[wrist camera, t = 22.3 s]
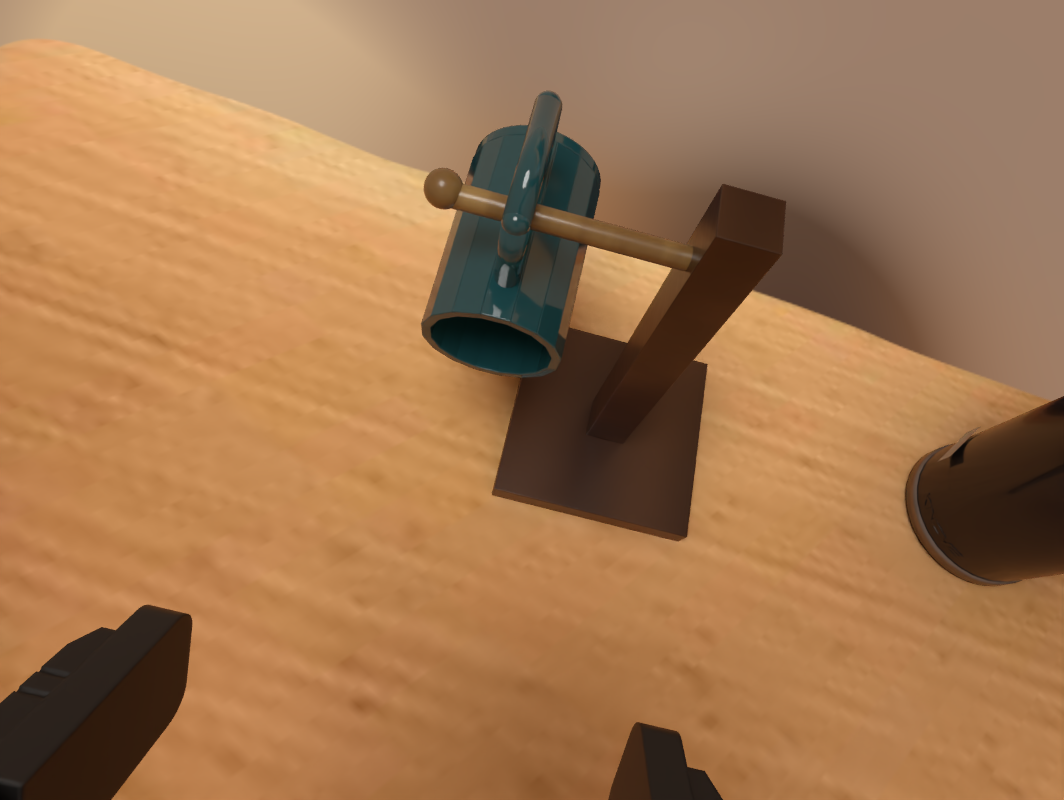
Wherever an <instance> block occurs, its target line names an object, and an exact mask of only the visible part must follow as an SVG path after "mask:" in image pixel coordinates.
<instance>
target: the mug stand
mask: <svg viewBox="0 0 1064 800" xmlns="http://www.w3.org/2000/svg"><path fill="white" fill-rule="evenodd" d="M424 193H425V196H426V198H427V200H428V201H429V203H430V204H431V205H433V206H434V207H436V208H439V209H450V208H452V209H456V210H459V211H463V212H467V213H470V214H474V215H478V216H481V217H485V218H489V219H493V220H496V221H500V222H501V219H502V215H503V212H504V208H505V205H506V201H507V198H508V196H507V195H503V194H500V193H496V192H492V191H489V190H485V189H481V188H478V187H474V186H470V185H467V184H463V183H462V180H461V178H460V177H459V176H458V174H457V173H455V172H454V171H453V170H450V169H447V168H438V169H435V170H433V171H432V172H431V173H430V174H429V175H428V176H427V178H426V180H425V182H424ZM785 209H786V201H783V200H780V199H776V198H772V197H769V196H765V195H762V194H758V193H755V192H751V191H747V190H743V189H740V188H737V187H733V186H729V185H726V184H722V186H721V187H720V189H719V191H718V193H717V194H716V196H715V197H714V199H713V201H712V202H711V204H710V206H709V207H708V209H707V211H706V213H705V214H704V216H703V217H702V219H701V221H700V223H699V224H698V226H697V227H696V229H695V231H694V233H693V234H692V236H691V238H690V239H689V241H688V243H687V244H683V243H679V242H676V241H672V240H668V239H665V238H661V237H658V236H654V235H650V234H646V233H643V232H639V231H636V230H632V229H628V228H624V227H621V226H617V225H613V224H609V223H606V222H602V221H599V220H595V219H591V218H588V217H584V216H580V215H577V214H573V213H569V212H566V211H562V210H558V209H555V208H551V207H547V206H544V205H540V204H537V205H536V209H535V213H534V216H533V220H532V224H531V228H530V230H533V231H537V232H541V233H544V234H548V235H552V236H555V237H559V238H563V239H567V240H570V241H574V242H578V243H581V244H585V245H589V246H592V247H596V248H600V249H604V250H607V251H611V252H615V253H618V254H622V255H626V256H629V257H633V258H637V259H641V260H644V261H648V262H652V263H655V264H659V265H663V266H666V267H670V268H672V269H671V271H670V273H669V274H668V276H667V278H666V279H665V281H664V283H663V284H662V286H661V288H660V289H659V291H658V293H657V294H656V296H655V298H654V299H653V301H652V303H651V304H650V306H649V308H648V310H647V311H646V313H645V315H644V316H643V318H642V320H641V321H640V323H639V325H638V326H637V328H636V330H635V331H634V333H633V335H632V336H631V338H630V340H629V341H628V343H625V342H621V341H617V340H614V339H610V338H606V337H602V336H598V335H595V334H591V333H587V332H583V331H579V330H576V329H572V328H568V333H567V337H566V341H565V346H564V350H563V355H562V359H561V362H560V364H559V366H558V368H557V370H556V371H554V372H551V373H549V374H547V375H545V376H540V377H528V378H521V379H520V383H519V387H518V391H517V395H516V399H515V403H514V407H513V411H512V415H511V419H510V423H509V427H508V431H507V435H506V439H505V443H504V447H503V451H502V455H501V459H500V463H499V467H498V471H497V475H496V479H495V483H494V487H493V491H492V495H495V496H499V497H503V498H507V499H511V500H515V501H519V502H523V503H527V504H531V505H535V506H539V507H543V508H547V509H551V510H555V511H559V512H563V513H567V514H571V515H575V516H579V517H583V518H587V519H591V520H595V521H599V522H603V523H607V524H611V525H615V526H619V527H623V528H627V529H631V530H635V531H639V532H643V533H647V534H651V535H655V536H659V537H663V538H667V539H671V540H675V541H680V540H682V539H684V538H686V537H687V531H688V522H689V514H690V506H691V497H692V489H693V480H694V472H695V464H696V455H697V447H698V439H699V430H700V422H701V414H702V405H703V397H704V389H705V380H706V372H707V364H704V363H701V362H697V361H693V360H694V359H695V358H696V356H697V355H698V354H699V353H700V352H701V350H702V349H703V348H704V347H705V346H706V344H707V343H708V342H709V341H710V340H711V339H712V337H713V336H714V335H715V334H716V333H717V331H718V330H719V329H720V328H721V327H722V325H723V324H724V323H725V322H726V321H727V320H728V318H729V317H730V316H731V315H732V314H733V312H734V311H735V310H736V309H737V308H738V306H739V305H740V304H741V303H742V302H743V301H744V299H745V298H746V297H747V296H748V295H749V293H750V292H751V291H752V290H753V289H754V287H755V286H756V285H757V284H758V283H759V281H760V280H761V279H762V278H763V277H764V275H765V274H766V273H767V272H768V271H769V269H770V268H771V267H772V266H773V265H774V264H775V262H776V261H777V260H778V259H779V258H780V257H781V255H782V250H783V237H784V222H785Z"/></svg>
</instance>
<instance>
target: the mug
mask: <svg viewBox="0 0 1064 800" xmlns="http://www.w3.org/2000/svg"><path fill="white" fill-rule="evenodd" d="M561 111H562V101H561V99H560V97H559V96H558V95H557V94H556V93H555V92H553V91H544V92H542V93H540V94H539V95H538V96H537V98H536V100H535V103H534V106H533V110H532V114H531V117H530V121H529V124H528V125H516V126H509V127H504V128H501V129H498V130H496V131H494V132H492V133H490V134H489V135H487V136H486V137H485V138H484V139H483V140H482V141H481V143H480V144H479V146H478V148H477V151H476V154H475V156H474V157H473V160H472V163H471V166H470V170H469V172H468V176H467V179H466V182H465V184H467V185H470V186H474V187H478V188H481V189H485V190H489V191H492V192H496V193H500V194H503V195H507V196H508V198H507V201H506V205H505V208H504V212H503V215H502V219H501V222H500V221H496V220H493V219H489V218H485V217H481V216H478V215H474V214H470V213H467V212H463V211H459V210H457V211H456V214H455V217H454V220H453V223H452V227H451V230H450V233H449V236H448V239H447V243H446V246H445V249H444V252H443V255H442V259H441V262H440V265H439V268H438V271H437V275H436V278H435V281H434V284H433V287H432V291H431V294H430V297H429V300H428V303H427V306H426V310H425V313H424V316H423V319H422V322H421V327H422V335H423V337H424V338H425V339H426V340H427V342H428V343H429V344H430V345H431V346H432V347H433V348H434V349H435V350H437V351H439V352H440V353H442V354H443V355H445V356H446V357H448V358H450V359H452V360H453V361H456V362H458V363H461V364H463V365H465V366H468V367H470V368H473V369H476V370H480V371H483V372H487V373H491V374H495V375H499V376H509V377H518V378H528V377H540V376H545V375H547V374H549V373H551V372H554V371H556V370H557V368H558V366H559V364H560V362H561V359H562V355H563V350H564V346H565V341H566V337H567V333H568V328H569V324H570V320H571V315H572V311H573V306H574V302H575V298H576V293H577V289H578V285H579V280H580V276H581V271H582V267H583V263H584V258H585V254H586V250H587V245H585V244H581V243H578V242H574V241H570V240H567V239H563V238H559V237H555V236H552V235H548V234H544V233H541V232H537V231H533V230H530V228H531V224H532V220H533V216H534V213H535V209H536V205H537V204H540V205H544V206H547V207H551V208H555V209H558V210H562V211H566V212H569V213H573V214H577V215H580V216H584V217H588V218H591V219H594V215H595V210H596V206H597V201H598V197H599V189H600V182H601V179H600V173H599V170H598V167H597V165H596V163H595V161H594V160H593V158H592V157H591V156H590V154H589V153H588V152H587V151H586V150H585V149H584V148H583V147H581V146H580V145H579V144H578V143H576V142H575V141H573V140H572V139H570V138H568V137H567V136H565V135H563V134H560V133H558V132H557V128H558V124H559V120H560V115H561Z"/></svg>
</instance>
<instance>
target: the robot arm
mask: <svg viewBox="0 0 1064 800" xmlns="http://www.w3.org/2000/svg"><path fill="white" fill-rule="evenodd" d="M978 428H979V427H978ZM978 428H976V429H974V430H971V431H969V432H967V433H966V434H965V435H964V436H963V437H962V438H961V439H960V440H959V441H958V442H956V443H954V444H950V445H946V446H944V447H941V448H939V449H936V450H934V451H932V452H930V453H928V454H926V455H925V456H924V457H922V458H921V459H920V460H919V461H918V462H917V464H916V465H915V466H914V468H913V469H912V471H911V474H910V476H909V479H908V483H907V490H906V502H907V509H908V514H909V517H910V521H911V523H912V526H913V528H914V530H915V533H916V535H917V536H918V538H919V540H920V541H921V543H922V544H923V546H924V547H925V549H926V550H927V551H928V553H929V554H930V555H931V556H932V557H933V558H934V559H935V560H936V561H937V562H938V563H939V564H940V565H941V566H943V567H944V568H945V569H947V570H948V571H949V572H951V573H952V574H954V575H956V576H957V577H959V578H962V579H964V580H966V581H969V582H971V583H975V584H979V585H985V586H998V585H1004V584H1011V583H1016V582H1019V581H1022V580H1025V579H1032V578H1038V577H1046V576H1053V575H1060V574H1064V396H1063V397H1061V398H1058V399H1056V400H1054V401H1051V402H1049V403H1047V404H1045V405H1042V406H1040V407H1038V408H1035V409H1033V410H1031V411H1028V412H1026V413H1024V414H1021V415H1019V416H1017V417H1015V418H1012V419H1010V420H1008V421H1005V422H1003V423H1001V424H998V425H996V426H994V427H991V428H989V429H987V430H985V431H982V432H980V433H977V434H975V435H972V434H973V433H974V432H975V431H976V430H977V429H978ZM971 435H972V436H971ZM191 633H192V618H191V616H190V615H189V614H186V613H181V612H177V611H173V610H169V609H165V608H160V607H156V606H152V605H144V606H142V607H140V608H139V609H138V610H137V611H136V612H135V613H134V614H133V615H132V616H130V617H129V618H128V619H127V620H126V621H125V622H124V623H123V624H122V625H121V626H120V627H119V628H118V629H117V630H112V629H108V628H103V627H101V628H99V629H97V630H95V631H93V632H91V633H89V634H87V635H85V636H83V637H81V638H79V639H77V640H75V641H73V642H71V643H69V644H67V645H66V646H65V647H64V648H62V649H61V650H60V651H59V652H58V653H57V654H56V655H55V656H53V657H52V658H51V659H50V660H49V661H48V662H47V663H45V664H44V665H43V666H42V667H41V670H40V671H39V672H35V673H34V674H33V675H32V676H31V677H30V678H28V679H27V680H26V681H25V682H24V683H23V684H22V685H20V687H19V689H18V691H17V692H15V691H14V692H13V693H11V694H10V695H9V696H8V697H7V698H6V699H5V700H3V701H2V702H1V703H0V800H111V799H112V798H113V797H114V795H115V794H116V793H117V791H118V790H119V789H120V788H121V786H122V785H123V784H124V782H125V781H126V780H127V778H128V777H129V776H130V774H131V773H132V772H133V771H134V769H135V768H136V767H137V765H138V764H139V763H140V761H141V760H142V759H143V758H144V756H145V755H146V754H147V752H148V751H149V750H150V748H151V747H152V746H153V744H154V743H155V742H156V741H157V739H158V738H159V737H160V735H161V734H162V733H163V731H164V730H165V729H166V727H167V726H168V725H169V723H170V722H171V721H172V719H173V717H174V716H175V714H176V712H177V710H178V708H179V706H180V703H181V701H182V698H183V696H184V692H185V688H186V683H187V673H188V663H189V653H190V643H191ZM609 800H723V799H722V798H721V796H720V794H719V793H718V791H717V790H716V788H715V787H714V785H713V783H712V782H711V780H710V779H709V777H708V776H707V774H706V772H705V771H702V770H698V769H693V768H689V767H687V763H686V759H685V754H684V749H683V744H682V740H681V736H680V734H679V733H678V732H677V731H673V730H669V729H664V728H660V727H656V726H652V725H648V724H643V723H639V722H636V723H635V724H634V726H633V728H632V730H631V733H630V736H629V738H628V741H627V744H626V747H625V750H624V753H623V755H622V758H621V761H620V764H619V767H618V769H617V772H616V775H615V778H614V781H613V784H612V787H611V790H610V795H609Z"/></svg>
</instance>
